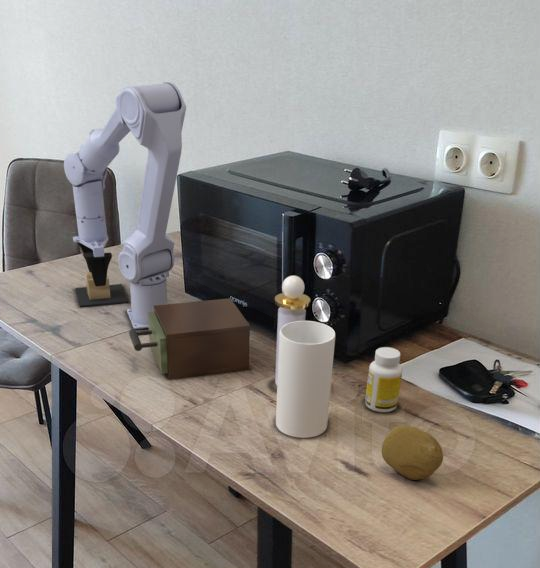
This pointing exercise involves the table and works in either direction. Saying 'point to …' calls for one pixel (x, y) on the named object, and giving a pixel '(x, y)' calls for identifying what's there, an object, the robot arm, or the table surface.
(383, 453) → the potato
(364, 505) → the table surface
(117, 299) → the mat
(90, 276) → the block
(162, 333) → the drawer
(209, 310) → the cabinet
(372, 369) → the supplement bottle
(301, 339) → the cup
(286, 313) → the perfume bottle
